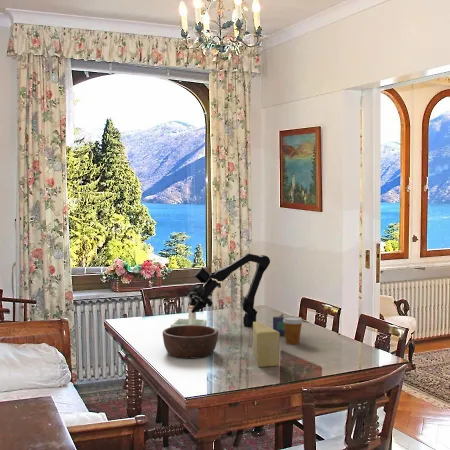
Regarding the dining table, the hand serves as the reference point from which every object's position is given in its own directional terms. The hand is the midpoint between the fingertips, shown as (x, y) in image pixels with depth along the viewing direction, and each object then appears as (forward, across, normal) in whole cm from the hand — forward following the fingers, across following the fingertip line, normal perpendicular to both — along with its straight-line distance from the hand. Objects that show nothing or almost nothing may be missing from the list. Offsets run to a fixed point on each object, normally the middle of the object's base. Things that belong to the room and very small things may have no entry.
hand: (190, 311), depth 331 cm
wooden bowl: (+23, +42, -9) cm, 48 cm away
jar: (+4, 0, +6) cm, 7 cm away
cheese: (+8, +68, +6) cm, 68 cm away
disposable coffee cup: (-13, +51, +27) cm, 59 cm away
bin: (+7, 0, +6) cm, 10 cm away
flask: (-18, +34, +32) cm, 50 cm away
